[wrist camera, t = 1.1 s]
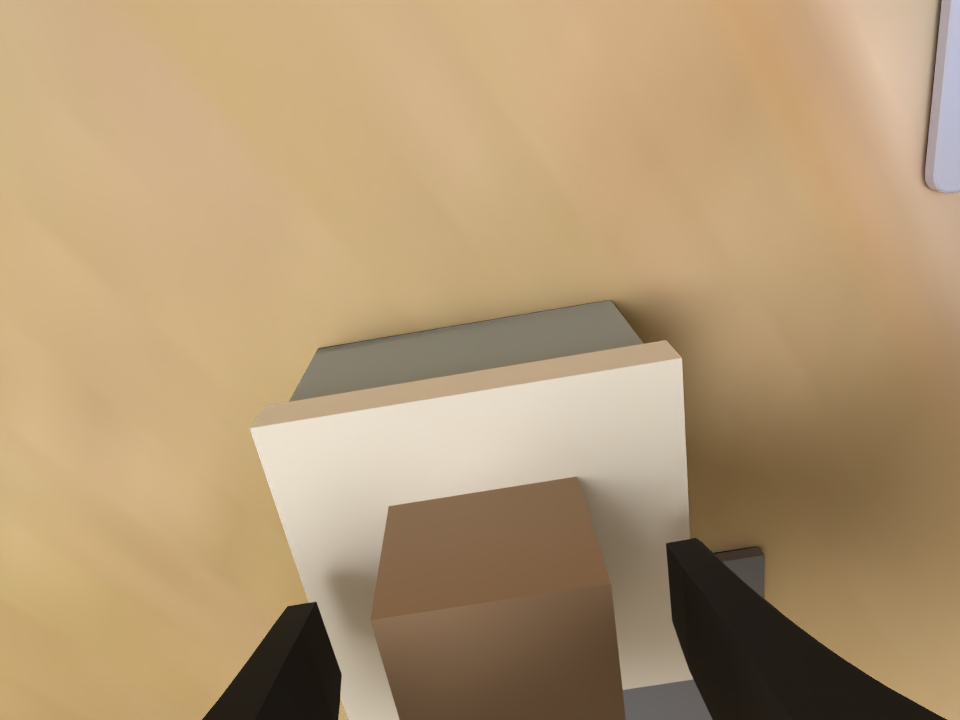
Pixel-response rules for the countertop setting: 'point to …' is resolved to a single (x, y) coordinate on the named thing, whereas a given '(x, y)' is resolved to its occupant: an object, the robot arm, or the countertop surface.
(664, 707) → the mat
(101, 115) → the countertop surface
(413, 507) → the lid
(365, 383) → the box
